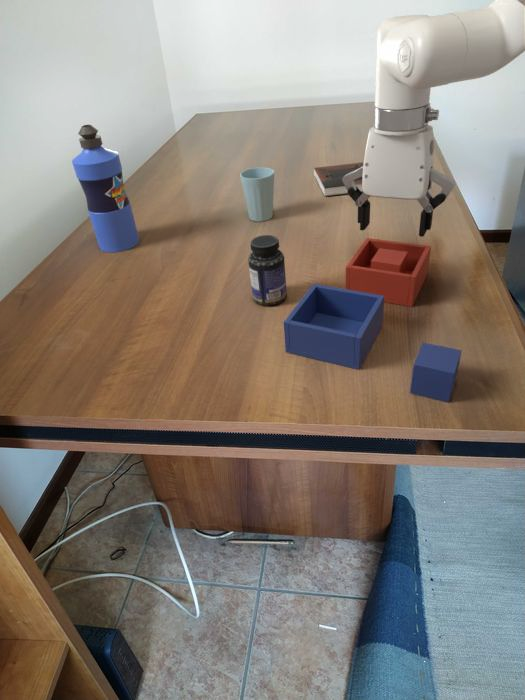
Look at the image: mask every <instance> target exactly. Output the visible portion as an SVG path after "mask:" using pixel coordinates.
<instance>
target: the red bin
mask: <svg viewBox="0 0 525 700" xmlns="http://www.w3.org/2000/svg"><path fill="white" fill-rule="evenodd" d="M379 248H382V249H389V250H397V251H404V252H408V255H407V265H406V274H405V273H399V272H392V271H386V270H379V269H372V268H371V260H372V259H373V257H374V256H375V254H376V253H377V251H378V250H379ZM431 252H432V246H431V245H426V244H417V243H410V242H403V241H402V242H401V241H394V240H387V239H386V240H385V239H379V238H369V237H367V238H365V240H364V241H363V243H362V244H361V246H359V248H358V250H357V251H356V252H355V253H354V255H353V256H352V258H351V259H350V260H349V262H348V263H347V265H346V266H345V286H344V287H345V288H344V289H347V290H353V291H359V292H364V293H370V294H376V295H382V296H384V303H388V304H393V305H398V306H404V307H410V308H413V306H414V304H415V302H416V299H417V297H418V295H419V293H420V291H421V289H422V287H423V285H424V283H425V280H426V278H427V277H428V273H429V267H430V258H431Z"/></svg>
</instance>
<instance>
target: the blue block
mask: <svg viewBox="0 0 525 700" xmlns="http://www.w3.org/2000/svg"><path fill="white" fill-rule="evenodd" d="M461 356H462V350H461V349H457V348H453V347H447V346H443V345H438V344H434V343H429V342H422V343H421V346H420V347H419V350H418V353H417V356H416V358H415V360H414V363H413V367H412V374H411V382H410V383H411V384H410V390H409V393H410V394H412V395H417V396H420V397H424V398H428V399H433V400H436V401H441V402H445V403H450V401H451V397H452V393H453V390H454V386H455V384H456V381H457V376H458V370H459V366H460V361H461Z"/></svg>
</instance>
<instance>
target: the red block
mask: <svg viewBox="0 0 525 700" xmlns="http://www.w3.org/2000/svg"><path fill="white" fill-rule="evenodd" d="M407 255H408V252H404V251H397V250H389V249H382V248H379V250H378V251H377V253H376V254H375V256H374V257H373V259H372V260H371V268H372V269H379V270H386V271H392V272H399V273H405V274H406V265H407Z"/></svg>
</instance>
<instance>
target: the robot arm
mask: <svg viewBox="0 0 525 700" xmlns="http://www.w3.org/2000/svg"><path fill="white" fill-rule="evenodd" d="M524 52H525V0H493V1H492V2H491V3H489V4H488V5H487V6H485V7H484V8H477V9H469V10H462V11H456V12H455V11H454V12H448V13H445V14H438V15H432V16H431V15H428V14H411V15H400V16H394V17H389V18H387V19H385V20H383V21H382V22H381V23H380V25H379V26H378V29H377V33H376V54H375V55H376V56H375V86H374V88H375V89H374V110H373V111H374V112H373V126H371V127H370V128H369V131H368V135H367V140H366V145H365V152H364V158H363V162H364V165H363V167H361V168H359V169H357V170H354V171H352V172H350V173H348V174H346V175H345V176H344V177H343V178H342V181H343V183H344V185H345V188H346V189H347V191H348V194H347V195H348V197H350V198H351V200H352V201H353V202H354V204H355V206H356V207H357V223H358V224H359V230H360V231H365V230H367V228H368V227H369V225H370V223H371V202H370V200H369V199H370V197H373V198H382V199H383V198H384V199H395V200H397V199H398V200H408V201H409V200H410V201H415V200H416V201H417V202H418V203H419V204H420V207H422V208H423V209H422V211H421V212H420V219H419V229H418V236H419V237H422V238H424V236H425V235H426V233H427V231H431V229H432V224H433V217H434V216H433V215H434V210H435V209H436V208H438V207H439V206H440V205H441V204H443V203H444V202H445V201H446V200H447V198H448V196H449V195H450V194H451V192H452V191H453V189H454V188H455V186H456V181H455V180H454V179H452V178H450V177H448V176H447V175H445V174H444V173H442V172H440V171H438V170H437V169H435V168H434V164H435V163H434V161H435V140H434V139H435V138H434V129H433V128H434V127H433V126H432V125H429V123H430V122H432V121H438V120H439V116H440V110H439V109H434V108H432V106H431V102H430V96H431V89H432V88H436V87H442V86H446V85H450V84H454V83H459V82H465V81H472V80H476V79H482V78H484V77H488V76H490V75H493V74H494V73H496V72H498V71H500V70H501V69H503V68H504V67H506V66H508V64H510V63H512V61H514V60H515V59H516V58H518V57H520V55H522V54H523V53H524ZM360 177H362V189H363V192H361V191H360V190H359V189H358V188H357V186H355V183H354V180H356V179H358V178H360ZM433 183H435V184H436V185H438V186H440V187H441V191H440V192H439V193H438V194H436V195H435V196H433V194H432V193H431V192H430V191H429V190H431V189H432V185H433Z"/></svg>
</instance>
